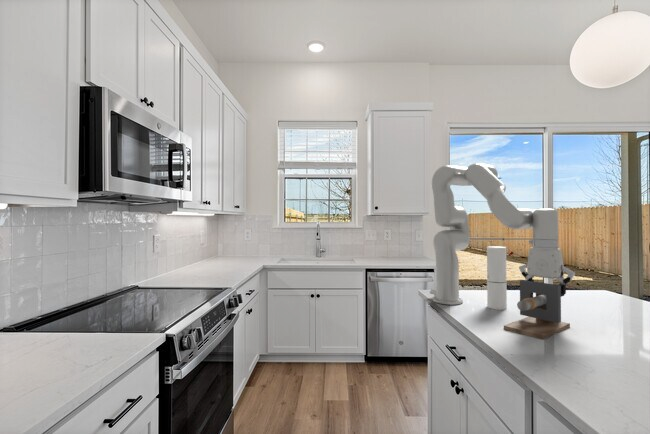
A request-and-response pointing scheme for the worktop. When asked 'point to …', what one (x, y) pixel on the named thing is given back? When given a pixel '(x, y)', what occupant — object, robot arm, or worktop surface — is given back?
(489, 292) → the cylindrical container
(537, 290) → the dark grey square plate
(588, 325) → the worktop surface
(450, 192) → the robot arm
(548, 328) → the pipe mount
